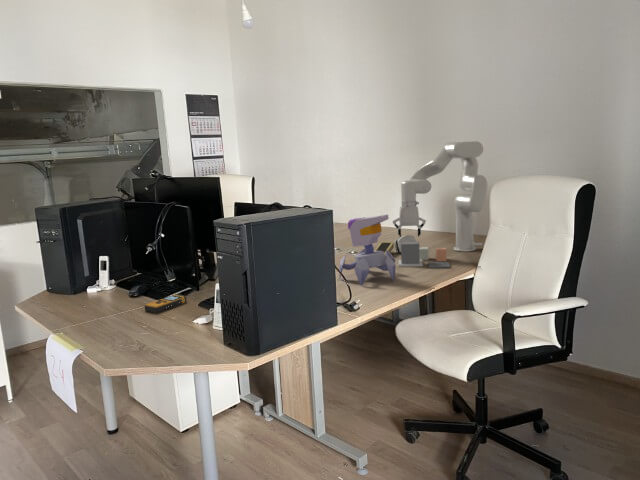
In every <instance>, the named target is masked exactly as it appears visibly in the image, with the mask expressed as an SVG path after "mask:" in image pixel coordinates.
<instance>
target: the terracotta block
mask: <svg viewBox="0 0 640 480" xmlns="http://www.w3.org/2000/svg"><path fill="white" fill-rule="evenodd" d="M435 262H447V248H446V247H435Z"/></svg>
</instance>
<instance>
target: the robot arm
mask: <svg viewBox="0 0 640 480" xmlns="http://www.w3.org/2000/svg"><path fill="white" fill-rule="evenodd" d="M483 152H484V145H483V144H482V142H480V141H478V140H473V141H471V140H470V141H455V142H453V141H452V142H446V143H444V144H443V145H442V146H441V148H440V149H439V150H438V151H437V152H436V153H435V155H434V156H433V158H432V159H431V160H430V161H429V162H427V163H425V164H424V165H423V166H422V167H420V168H419V169H418V170H416V171H415V172H414V173H413V174H412V176H411V177H410V179H409V180H403V181H402V182H401V183H400V188H401V189H400V190H401V191H400V192H401V197H400V198H401V206H400V208H399V217H397V218H396V219H394V220H393V221H392V224H393V225H394V227H395V228H396V229H397V231H398V232H397V235H398V236H399V238H400V237H402V229H401V228H402V227H413V226H414V227H415V226H416V227H417V237H418V238H419V237H420V235H421V234H422V233H421V229H422V228H423V227H424V226H425V225H426V222H427V220H426V219H424V218H422V217H420V215H419V214H420V213H419V207H418V206H417V205H419V204H420V202H419V201H417V195H418V194H421V195H423V194H424V195H425V194H428V193H429V192H430V191H431V189H432V183H431V182H430V181H429V180H428V179H429V178H431V177H433V176H436V175H439V174H440V173H443V171H444V170H445V169H446V167H448V166H449V164H450V163H451V162H452V160H454V159H459V160H460V161H461V166H462V167H461V173H460V179H459V180H460V181H459V188H460V189H461V190H462V192H463V191H464V192H470V193H460V194H457V195H456V196H455V198H454V200H453V207H454V212H455V246H453V247H452V250H453V251H456V252H463V253H464V252H465V253H466V252H474V251H476V250H477V247H482V246H483V243H482V242H475V241H474V214H473V213H480V212H481V211H482V210H483V209H484V206H485V202H486V196H487V190H488V181H487V178H486V177H485V176H484V175H482V174H478V172H479V162H478V159H477V158H478V157H480V156H482V154H483ZM420 221H421V222H422V223H421V224H419V223H420ZM397 222H399V225H398V224H397Z"/></svg>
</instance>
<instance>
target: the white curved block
mask: <svg viewBox="0 0 640 480" xmlns="http://www.w3.org/2000/svg"><path fill="white" fill-rule="evenodd" d="M401 242H417V240H416V237H415V236H414V235H411V234H409V235H408V234H407V235H403V236H402V235H401V237H400V236H399V237H397V238H396V239H395V241H394V248H395V251H396V254H399V253H400V254H401Z"/></svg>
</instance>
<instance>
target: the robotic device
mask: <svg viewBox="0 0 640 480" xmlns="http://www.w3.org/2000/svg"><path fill="white" fill-rule="evenodd" d="M389 218H390V217H389V214H383V215H376V216H369V217H359V218H358V217H357V218H353V219H352V218H351V219H349V220H348V222H347V229H348V230H349V234H350V239H351V245H352V247H353V248H355V247H364V248H362V249H361V250H360V251H359V252H358V254H355V255H354V258H355V261H354V262H350V263H345V261H346V255H347V254H345V255H343V257H342V258H341V259H340V262H339V270H338V271H340V272H341V275H340V274H339V273H338V275H339V278H341V277H342V272H343V270H346V271H350V270H354V272H355V275H356V278H357V280H358V282H359V285H360V286H361V287H362V286H363V285H364V283H365V281H366V280H367V277H368V275H369V273H370V272H371V269H373V268H377V269H379V270H381V271H384V272H388V273H389V275H390V277H391V280H392V281H391V282H394V281H395V275H396V269H397V268H396V267H397V266H396V259H395V257H394V256H393V255H392V253H391V252H390V253H389V252H388V251H387V250H386V252H385V255H386V259H385V255H384V252H383V251H374V250H375V249H374V244H377V243H378V240H379V237H380V236H381V235H382V229H383V228H382V223H383V222H385V221H387V220H389Z"/></svg>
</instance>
